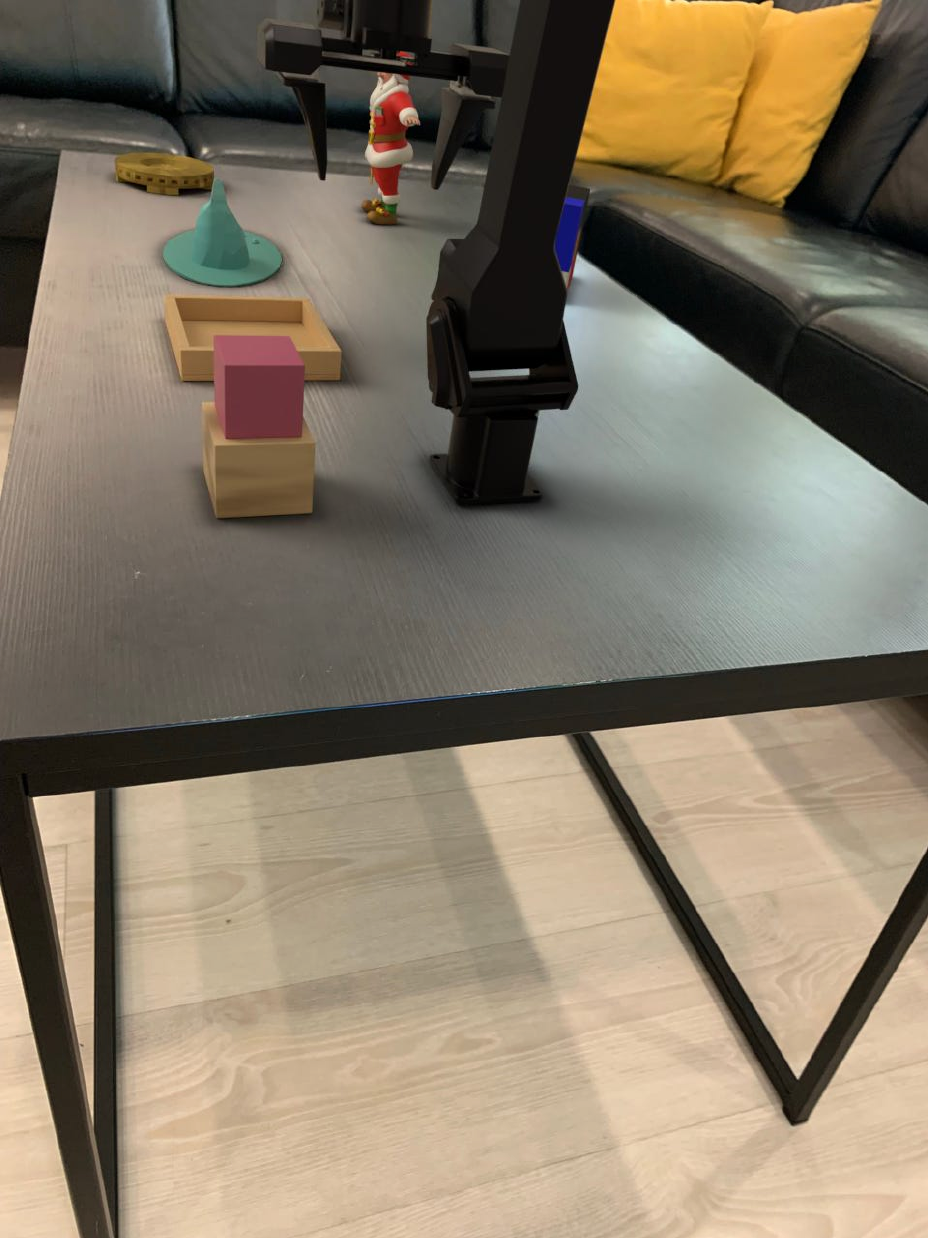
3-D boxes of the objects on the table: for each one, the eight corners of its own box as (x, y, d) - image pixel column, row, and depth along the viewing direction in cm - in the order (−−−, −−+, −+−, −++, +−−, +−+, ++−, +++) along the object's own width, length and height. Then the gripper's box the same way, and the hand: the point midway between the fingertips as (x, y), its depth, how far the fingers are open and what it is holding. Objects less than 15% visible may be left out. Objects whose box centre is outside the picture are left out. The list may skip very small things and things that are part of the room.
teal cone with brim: (284, 235, 108) (286, 154, 103) (279, 292, 92) (281, 200, 87) (175, 224, 106) (171, 140, 101) (151, 279, 90) (145, 184, 85)
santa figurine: (350, 191, 130) (360, 34, 119) (391, 195, 131) (405, 40, 120) (374, 244, 111) (389, 62, 100) (422, 248, 112) (442, 70, 101)
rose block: (302, 437, 57) (305, 364, 54) (225, 439, 55) (224, 365, 53) (287, 405, 60) (289, 335, 58) (214, 406, 59) (213, 334, 56)
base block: (312, 513, 60) (316, 442, 57) (216, 518, 58) (214, 445, 55) (293, 468, 64) (296, 400, 61) (203, 471, 62) (201, 401, 59)
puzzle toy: (562, 303, 102) (581, 206, 97) (473, 284, 103) (487, 188, 97) (572, 278, 111) (590, 188, 105) (489, 262, 111) (503, 171, 105)
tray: (339, 380, 77) (341, 351, 76) (181, 381, 73) (180, 349, 71) (307, 324, 86) (308, 297, 85) (165, 322, 82) (164, 293, 80)
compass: (233, 188, 122) (233, 170, 121) (163, 199, 113) (163, 180, 112) (167, 166, 126) (166, 149, 125) (95, 175, 118) (93, 156, 116)
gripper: (487, -41, 75) (462, 171, 84) (249, -79, 69) (249, 152, 78) (534, -33, 66) (501, 202, 75) (267, -77, 60) (265, 183, 69)
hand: (379, 183), depth 75 cm, fingers open, 9 cm apart
